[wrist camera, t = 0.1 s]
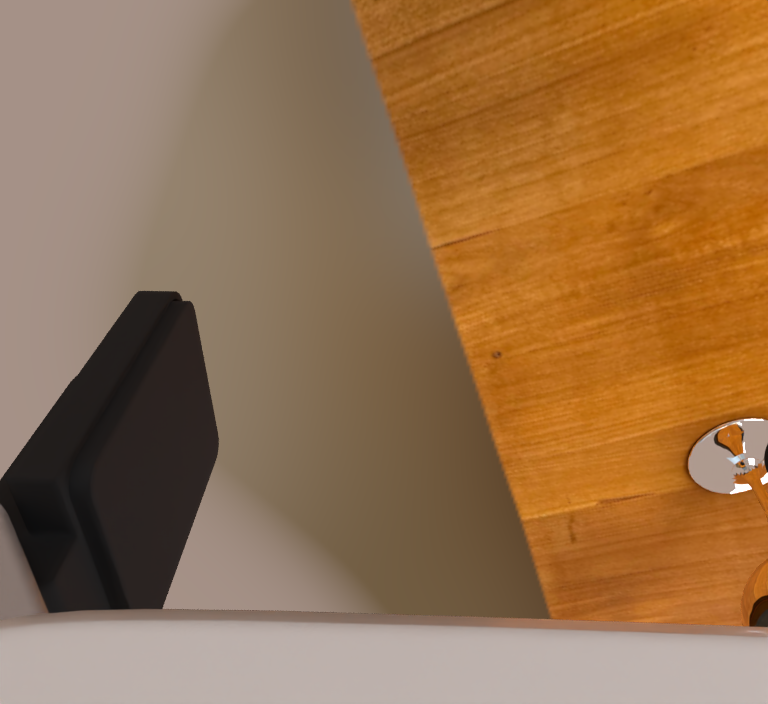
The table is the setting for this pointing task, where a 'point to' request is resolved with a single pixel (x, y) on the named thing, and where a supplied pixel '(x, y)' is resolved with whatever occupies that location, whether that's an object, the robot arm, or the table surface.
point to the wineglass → (737, 489)
